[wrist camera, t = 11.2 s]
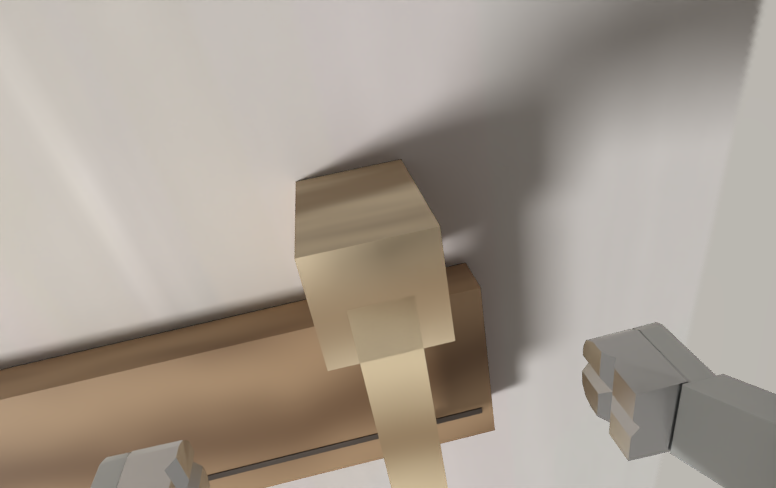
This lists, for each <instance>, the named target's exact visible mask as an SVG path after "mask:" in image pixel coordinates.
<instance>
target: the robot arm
mask: <svg viewBox="0 0 776 488" xmlns="http://www.w3.org/2000/svg"><path fill="white" fill-rule="evenodd" d="M583 356H584V357H585V358H586V360H587V361H588V362H589V363H588V364H587V365H586V367H585V368H584V369H583V371H582V383H583V387H584V391H585V395H586V397H587V400H588V402H589V404H590V406H591V407H592V409H593V410H594V412H595V413H596V415H597V416H598V417H600V418H602V419H604V420H606V421H608V422H610V428H609V434H610V435H611V437H612V438H613V440H614V441H615V443H616V444H617V446H618V447H619V448H620V450H621V451H622V453H623V454H624V456H625V457H626V459H627V460H628V461H630V460H635V459H639V458H643V457H648V456H652V455H656V454H660V453H665V452H669V451H671V452H670V454H672V455H673V456H675V457H677V458H678V459H680V460H681V461H683V462H684V463H686V464H688V465H689V466H691V467H692V468H694V469H696V470H697V471H699V472H700V473H702V474H704V475H705V476H707V477H708V478H710V479H712V480H713V481H715V482H716V483H718V484H719V485H721V486H723V487H724V488H776V394H774V393H772V392H769V391H767V390H764V389H761V388H759V387H756V386H753V385H751V384H748V383H745V382H743V381H740V380H738V379H735V378H732V377H730V376H727V375H725V374H721V375H717V376H716V375H715V374H714V373H713V372H712V371H711V370H710V369H709V368H708V367H706V366H705V365H704V364H703V363H702V362H701V361H700V360H699V359H698V358H697V357H696V356H695V355H694V354H693V353H692V352H690V350H689V349H688V348H687V347H685V346H684V345H683V344H682V343H681V342H680V341H679V340H678V339H677V338H676V337H675V336H674V335H673V334H672V333H671V332H670V331H669V330H668V329H666V328H665V327H664V326H663V325H662V324H659V323H657V322H655V323H651V324H647V325H644V326H640V327H636V328H633V329H628V330H624V331H620V332H616V333H612V334H608V335H604V336H601V337H597V338H593V339H589V340H586V342H585V344H584V347H583ZM194 453H195V451H194V449H193V447H192V446H191V444H190V442H189V441H188V440H180V441H176V442H171V443H167V444H162V445H158V446H153V447H149V448H144V449H139V450H135V451H132V452H128V453H124V454H119V455H115V456H110V457H106V458H105V459H104V460H103V461H102V462H101V464H100V465H99V467H98V470H97V472H96V475H95V477H94V480H93V482H92V485H91V488H210V483H209V480H208V476H207V473H206V471H205V469H204V467H203V466H202V465H200V464H197V463H195V462H193V458H194Z"/></svg>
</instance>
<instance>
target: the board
mask: <svg viewBox="0 0 776 488" xmlns="http://www.w3.org/2000/svg"><path fill="white" fill-rule="evenodd" d="M446 275H447V282H448V290H449V298H450V305H451V313H452V320H453V328H454V335H455V341H453V342H449V343H444V344H440V345H436V346H432V347H428V348H424V353H425V359H426V365H427V370H428V376H429V382H430V388H431V394H432V400H433V405H434V411H435V417H436V423H437V429H438V435H439V440H440V444H441V443H445V442H449V441H453V440H457V439H461V438H465V437H469V436H473V435H477V434H481V433H485V432H489V431H493V430H495V427H494V417H493V407H492V397H491V387H490V377H489V367H488V357H487V347H486V337H485V327H484V317H483V307H482V297H481V288H480V286H479V284H478V283H477V281H476V279H475V278H474V276H473V274H472V272H471V271H470V269H469V267H468V266H467V264H466V263H463V264H458V265H454V266H450V267H446ZM180 440H188V441H189V442H190V444H191V446H192V447H193V449H194V451H195V453H194V458H193V462H195V463H197V464H200V465H202V466H203V467H204V469H205V471H206V473H207V476H208V480H209V483H210V488H266V487H270V486H274V485H278V484H282V483H286V482H290V481H294V480H298V479H302V478H306V477H310V476H314V475H318V474H322V473H326V472H330V471H334V470H338V469H342V468H346V467H350V466H354V465H358V464H362V463H366V462H370V461H374V460H378V459H382V458H384V456H383V452H382V448H381V444H380V440H379V437H378V433H377V429H376V425H375V421H374V417H373V413H372V409H371V405H370V401H369V397H368V393H367V389H366V385H365V381H364V377H363V373H362V369H361V365H360V364H356V365H352V366H347V367H343V368H339V369H335V370H331V371H328V370H327V367H326V363H325V360H324V357H323V353H322V350H321V346H320V343H319V340H318V336H317V333H316V330H315V326H314V323H313V319H312V316H311V313H310V309H309V306H308V303H307V300H302V301H298V302H294V303H289V304H285V305H281V306H276V307H272V308H268V309H263V310H259V311H255V312H250V313H246V314H242V315H237V316H233V317H228V318H224V319H220V320H215V321H211V322H207V323H202V324H198V325H194V326H189V327H185V328H181V329H176V330H172V331H168V332H163V333H159V334H155V335H150V336H146V337H142V338H137V339H133V340H129V341H124V342H120V343H116V344H111V345H107V346H103V347H98V348H94V349H90V350H85V351H81V352H77V353H72V354H68V355H64V356H59V357H55V358H51V359H46V360H42V361H38V362H33V363H29V364H25V365H20V366H16V367H12V368H7V369H3V370H0V488H91V485H92V482H93V480H94V477H95V475H96V472H97V470H98V467H99V465H100V464H101V462H102V461H103V460H104V459H105V458H106V457H110V456H115V455H119V454H124V453H128V452H132V451H135V450H139V449H144V448H149V447H153V446H158V445H162V444H167V443H171V442H176V441H180Z"/></svg>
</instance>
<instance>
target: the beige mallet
mask: <svg viewBox="0 0 776 488" xmlns="http://www.w3.org/2000/svg"><path fill="white" fill-rule="evenodd" d="M295 262H296V265H297V269H298V272H299V275H300V279H301V282H302V286H303V289H304V292H305V296H306V299H307V303H308V306H309V309H310V313H311V316H312V319H313V323H314V326H315V330H316V333H317V336H318V340H319V343H320V346H321V350H322V353H323V357H324V360H325V363H326V367H327V370H328V371H331V370H335V369H339V368H343V367H347V366H352V365H356V364H360V365H361V369H362V373H363V377H364V381H365V385H366V389H367V393H368V397H369V401H370V405H371V409H372V413H373V417H374V421H375V425H376V429H377V433H378V437H379V440H380V444H381V448H382V452H383V456H384V460H385V464H386V468H387V472H388V476H389V480H390V484H391V488H448V487H447V481H446V475H445V470H444V464H443V458H442V452H441V446H440V440H439V435H438V429H437V423H436V417H435V411H434V405H433V400H432V394H431V388H430V382H429V376H428V370H427V365H426V359H425V353H424V348H428V347H432V346H436V345H440V344H444V343H449V342H453V341H455V335H454V328H453V320H452V313H451V305H450V298H449V290H448V282H447V275H446V267H445V260H444V252H443V245H442V237H441V229H440V225H439V224H438V222H437V220H436V218H435V217H434V215H433V213H432V212H431V210H430V208H429V206H428V205H427V203H426V201H425V200H424V198H423V196H422V194H421V193H420V191H419V189H418V188H417V186H416V184H415V182H414V181H413V179H412V177H411V176H410V174H409V172H408V170H407V169H406V167H405V165H404V164H403V162H402V160H401V159H400V160H395V161H390V162H386V163H381V164H376V165H372V166H367V167H362V168H357V169H353V170H348V171H343V172H339V173H334V174H329V175H325V176H320V177H315V178H311V179H306V180H301V181H297V182H296V203H295Z"/></svg>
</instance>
